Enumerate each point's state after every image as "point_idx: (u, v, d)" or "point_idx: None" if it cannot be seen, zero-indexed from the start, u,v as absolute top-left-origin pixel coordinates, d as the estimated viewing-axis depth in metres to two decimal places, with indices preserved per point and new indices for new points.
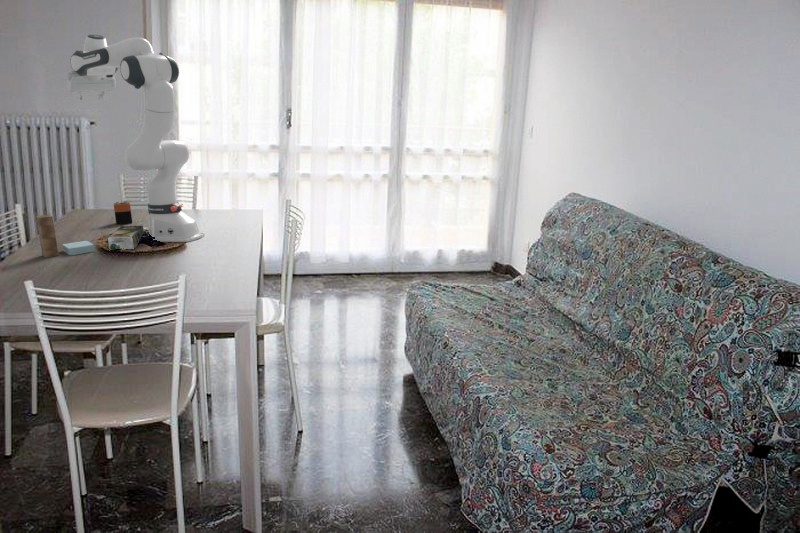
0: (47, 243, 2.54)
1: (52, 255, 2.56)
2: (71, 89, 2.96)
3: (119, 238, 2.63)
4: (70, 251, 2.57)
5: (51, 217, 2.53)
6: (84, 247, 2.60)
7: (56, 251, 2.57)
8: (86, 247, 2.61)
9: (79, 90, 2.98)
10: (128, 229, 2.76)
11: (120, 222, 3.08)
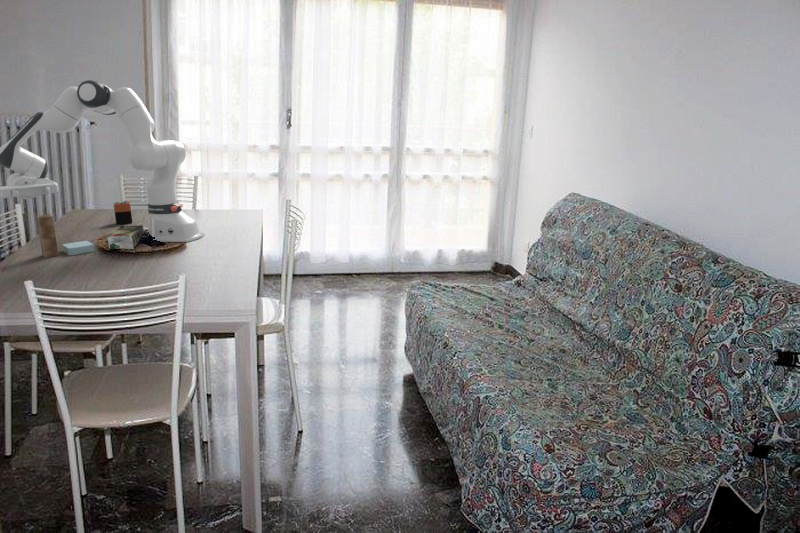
0: (47, 243, 2.54)
1: (52, 255, 2.56)
2: (1, 188, 2.59)
3: (119, 238, 2.63)
4: (70, 251, 2.57)
5: (51, 217, 2.53)
6: (84, 247, 2.60)
7: (56, 251, 2.57)
8: (86, 247, 2.61)
9: (12, 187, 2.61)
10: (128, 228, 2.76)
11: (120, 222, 3.08)
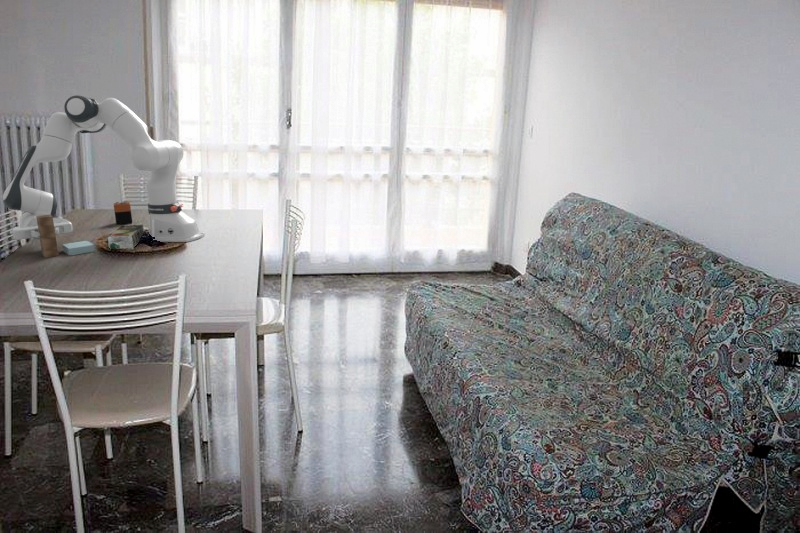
0: (47, 243, 2.54)
1: (52, 255, 2.56)
2: (15, 230, 2.53)
3: (119, 237, 2.64)
4: (70, 251, 2.57)
5: (51, 217, 2.53)
6: (84, 247, 2.60)
7: (56, 251, 2.57)
8: (87, 247, 2.61)
9: (25, 229, 2.55)
10: (128, 228, 2.77)
11: (120, 222, 3.08)
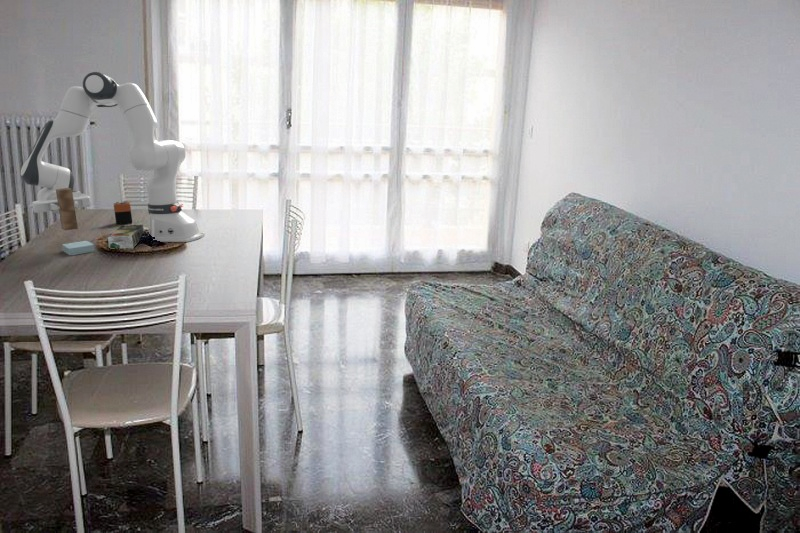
0: (66, 216, 2.56)
1: (71, 228, 2.58)
2: (35, 203, 2.55)
3: (119, 237, 2.64)
4: (70, 251, 2.57)
5: (70, 190, 2.55)
6: (84, 247, 2.60)
7: (75, 224, 2.58)
8: (87, 247, 2.61)
9: (45, 202, 2.56)
10: (128, 228, 2.77)
11: (120, 222, 3.08)
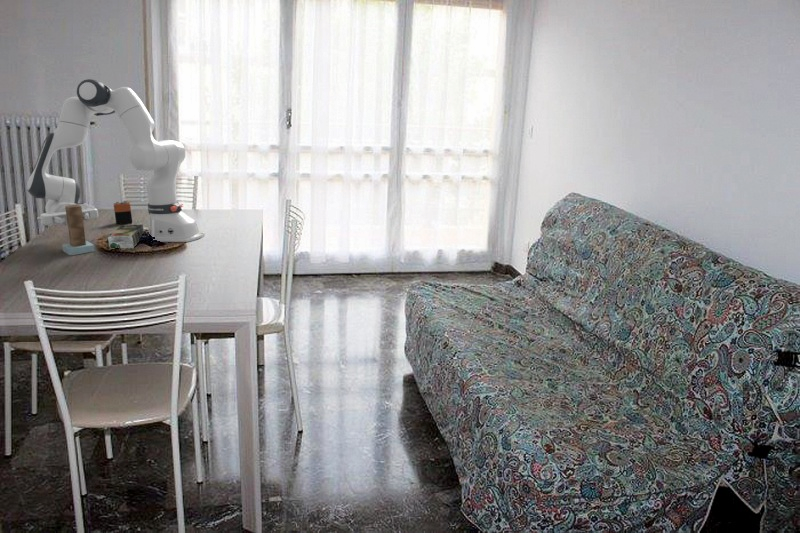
0: (75, 233, 2.59)
1: (80, 244, 2.61)
2: (43, 215, 2.58)
3: (119, 237, 2.64)
4: (70, 251, 2.57)
5: (80, 207, 2.58)
6: (84, 247, 2.60)
7: (84, 240, 2.62)
8: (87, 247, 2.61)
9: (53, 214, 2.59)
10: (128, 228, 2.77)
11: (120, 222, 3.08)
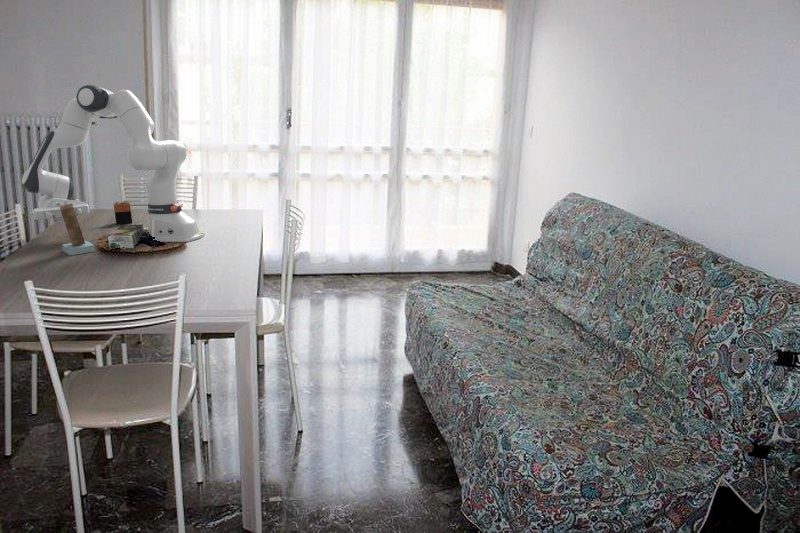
0: (72, 233, 2.58)
1: (79, 243, 2.61)
2: (35, 210, 2.66)
3: (119, 237, 2.64)
4: (70, 251, 2.57)
5: (72, 208, 2.55)
6: (84, 247, 2.60)
7: (82, 239, 2.61)
8: (87, 248, 2.61)
9: (45, 209, 2.68)
10: (128, 228, 2.77)
11: (120, 222, 3.08)
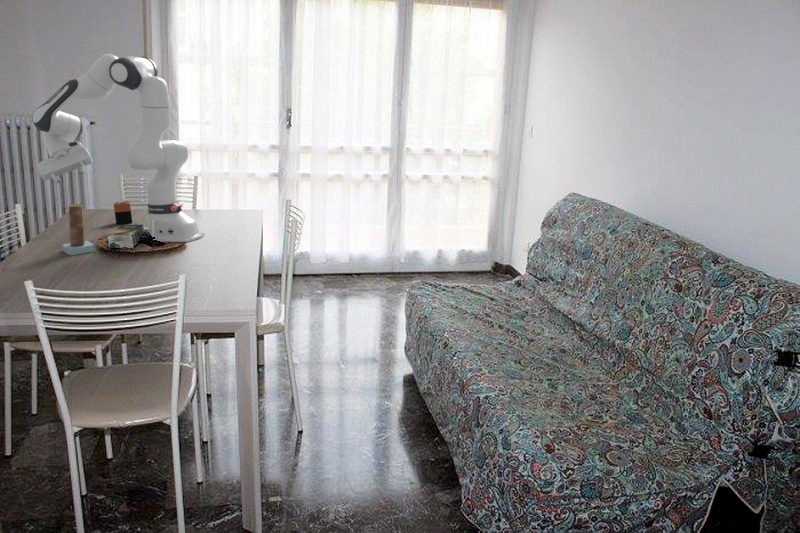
0: (73, 232, 2.59)
1: (77, 244, 2.61)
2: (41, 173, 2.71)
3: (119, 237, 2.64)
4: (70, 251, 2.57)
5: (81, 207, 2.58)
6: (84, 247, 2.60)
7: (82, 241, 2.61)
8: (87, 247, 2.61)
9: (50, 170, 2.71)
10: (128, 227, 2.77)
11: (120, 222, 3.08)
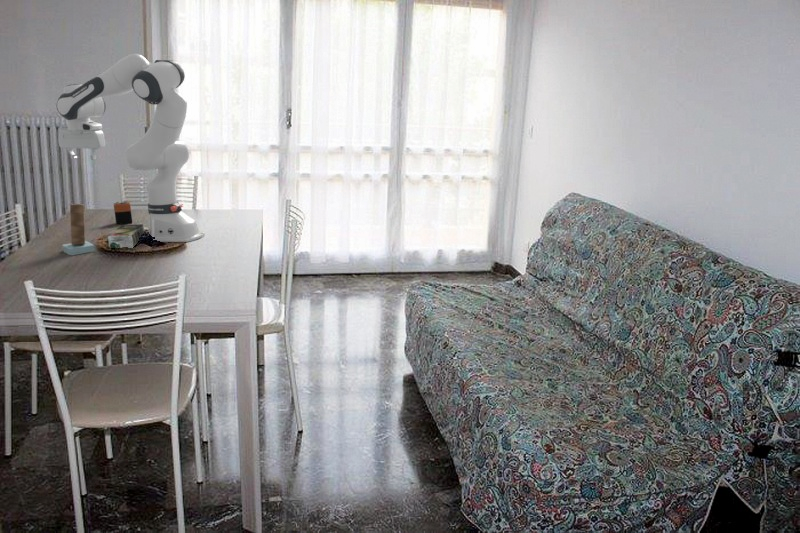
0: (74, 231, 2.60)
1: (78, 243, 2.61)
2: (59, 144, 2.84)
3: (119, 237, 2.65)
4: (70, 251, 2.57)
5: (82, 205, 2.59)
6: (84, 247, 2.60)
7: (83, 239, 2.61)
8: (87, 248, 2.61)
9: (66, 146, 2.83)
10: (128, 227, 2.78)
11: (120, 222, 3.08)
